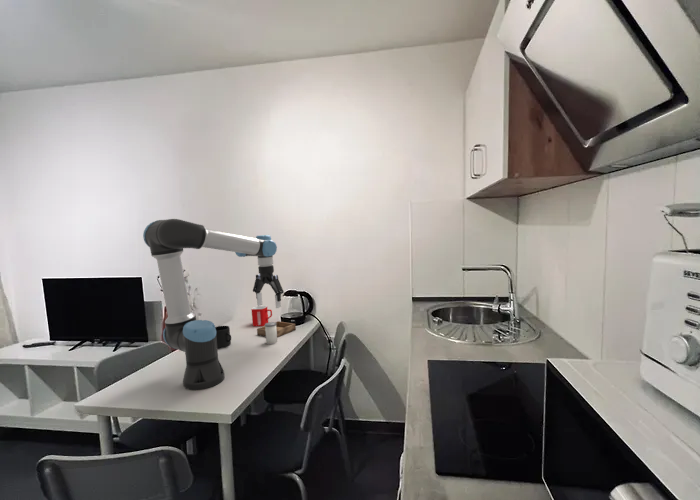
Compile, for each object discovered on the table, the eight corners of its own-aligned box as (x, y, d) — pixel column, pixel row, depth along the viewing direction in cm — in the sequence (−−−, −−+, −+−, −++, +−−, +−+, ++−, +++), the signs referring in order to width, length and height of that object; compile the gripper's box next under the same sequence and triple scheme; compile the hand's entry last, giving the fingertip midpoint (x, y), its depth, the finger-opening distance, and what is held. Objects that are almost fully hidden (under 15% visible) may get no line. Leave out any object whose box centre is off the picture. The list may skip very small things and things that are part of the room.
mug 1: (224, 350, 174) (223, 332, 173) (207, 347, 179) (205, 330, 178) (238, 343, 182) (237, 326, 181) (221, 341, 187) (220, 325, 187)
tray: (275, 338, 187) (274, 332, 187) (257, 334, 195) (256, 328, 195) (295, 329, 200) (295, 323, 200) (278, 326, 208) (278, 321, 208)
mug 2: (251, 326, 213) (250, 309, 212) (257, 322, 221) (256, 306, 220) (269, 326, 210) (268, 309, 210) (275, 322, 218) (274, 305, 218)
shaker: (271, 344, 177) (270, 325, 177) (263, 343, 181) (262, 324, 180) (280, 341, 182) (278, 322, 181) (272, 339, 185) (270, 321, 185)
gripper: (288, 264, 175) (291, 306, 176) (255, 264, 189) (258, 302, 190) (277, 266, 169) (281, 310, 170) (243, 265, 183) (247, 306, 184)
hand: (269, 306), depth 180 cm, fingers open, 13 cm apart
